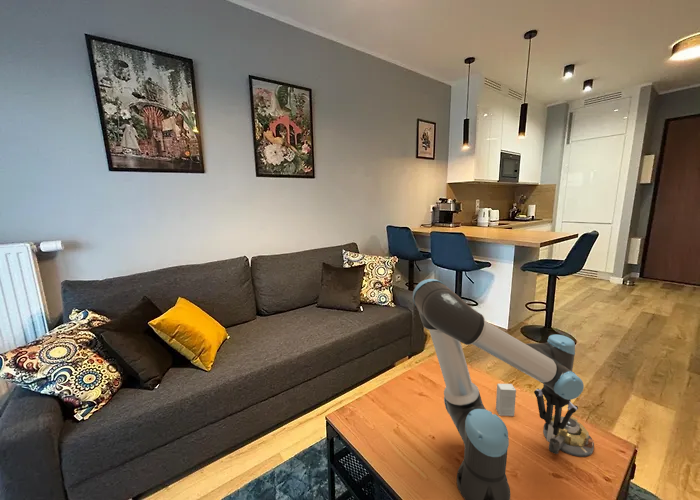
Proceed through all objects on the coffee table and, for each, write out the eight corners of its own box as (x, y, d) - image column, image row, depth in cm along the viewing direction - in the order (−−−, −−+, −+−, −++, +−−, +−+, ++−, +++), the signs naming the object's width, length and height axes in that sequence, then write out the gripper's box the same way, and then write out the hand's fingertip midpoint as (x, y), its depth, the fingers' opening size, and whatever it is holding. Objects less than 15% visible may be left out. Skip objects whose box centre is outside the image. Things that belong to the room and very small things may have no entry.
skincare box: (510, 409, 127) (512, 383, 125) (514, 416, 123) (516, 390, 121) (495, 408, 128) (496, 383, 125) (498, 415, 123) (500, 389, 121)
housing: (584, 464, 101) (587, 444, 99) (536, 436, 113) (537, 418, 111) (599, 442, 109) (602, 424, 108) (553, 418, 121) (555, 401, 120)
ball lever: (570, 464, 98) (571, 453, 98) (534, 442, 107) (535, 432, 106) (591, 436, 109) (592, 426, 108) (557, 418, 118) (558, 409, 117)
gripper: (584, 385, 100) (576, 446, 104) (541, 367, 110) (535, 424, 114) (575, 394, 95) (567, 458, 99) (531, 375, 106) (526, 433, 110)
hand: (550, 440), depth 107 cm, fingers closed
